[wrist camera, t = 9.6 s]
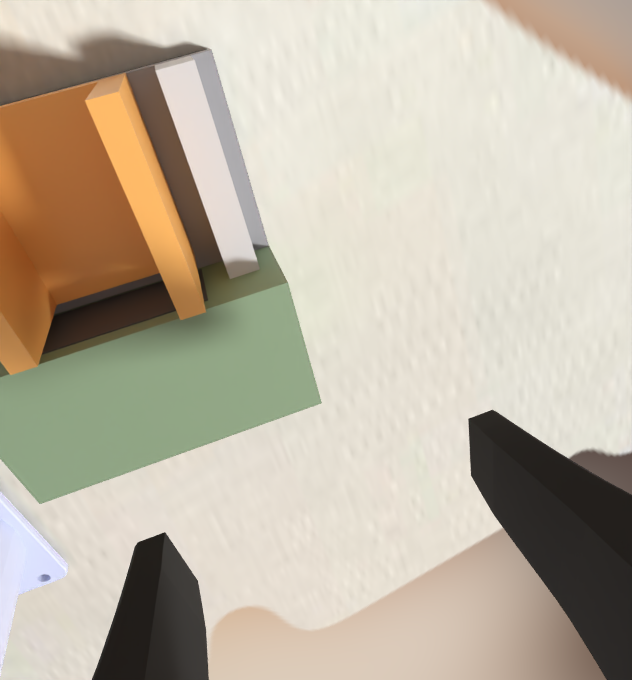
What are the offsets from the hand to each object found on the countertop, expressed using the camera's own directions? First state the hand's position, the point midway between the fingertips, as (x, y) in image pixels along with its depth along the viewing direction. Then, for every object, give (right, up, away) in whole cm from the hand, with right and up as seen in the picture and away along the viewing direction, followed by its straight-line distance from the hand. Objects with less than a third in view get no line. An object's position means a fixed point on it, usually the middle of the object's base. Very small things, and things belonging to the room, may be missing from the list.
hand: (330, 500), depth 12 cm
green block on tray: (-7, +6, +6) cm, 11 cm away
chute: (-7, +8, +3) cm, 11 cm away
